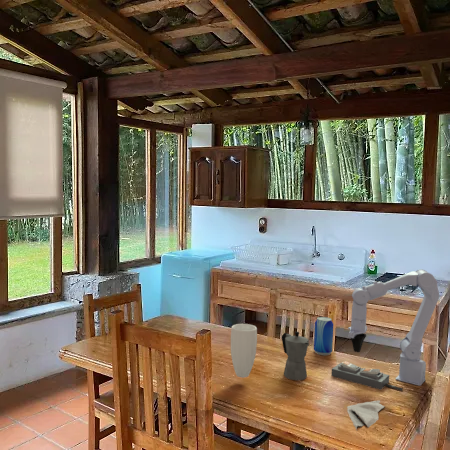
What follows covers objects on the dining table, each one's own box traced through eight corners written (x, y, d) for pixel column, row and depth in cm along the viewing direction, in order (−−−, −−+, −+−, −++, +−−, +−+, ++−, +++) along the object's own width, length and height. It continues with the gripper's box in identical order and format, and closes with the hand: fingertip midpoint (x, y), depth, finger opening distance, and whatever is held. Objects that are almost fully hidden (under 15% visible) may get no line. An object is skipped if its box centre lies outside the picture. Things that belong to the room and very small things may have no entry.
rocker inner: (380, 371, 181) (379, 368, 181) (376, 374, 178) (376, 371, 178) (366, 371, 184) (365, 368, 184) (362, 373, 181) (362, 370, 181)
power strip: (405, 387, 178) (406, 377, 177) (398, 394, 171) (399, 384, 170) (340, 369, 194) (341, 360, 193) (331, 375, 187) (331, 366, 186)
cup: (260, 381, 178) (262, 326, 177) (246, 390, 170) (248, 332, 169) (238, 375, 184) (239, 321, 183) (223, 383, 176) (225, 327, 174)
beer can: (327, 357, 208) (328, 322, 207) (310, 353, 213) (311, 318, 212) (335, 352, 215) (336, 318, 214) (318, 348, 220) (320, 315, 219)
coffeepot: (315, 379, 183) (317, 334, 181) (297, 384, 177) (299, 338, 176) (289, 366, 195) (291, 324, 194) (272, 370, 190) (273, 327, 189)
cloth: (366, 397, 169) (366, 391, 169) (403, 410, 159) (403, 404, 159) (326, 419, 151) (326, 413, 151) (364, 436, 141) (365, 429, 141)
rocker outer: (357, 368, 186) (358, 366, 186) (354, 371, 184) (354, 368, 183) (344, 362, 190) (345, 360, 189) (341, 365, 187) (341, 362, 187)
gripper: (356, 313, 196) (354, 345, 197) (342, 319, 184) (340, 353, 185) (372, 316, 191) (370, 348, 192) (359, 323, 180) (357, 357, 181)
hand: (356, 351), depth 188 cm, fingers closed
